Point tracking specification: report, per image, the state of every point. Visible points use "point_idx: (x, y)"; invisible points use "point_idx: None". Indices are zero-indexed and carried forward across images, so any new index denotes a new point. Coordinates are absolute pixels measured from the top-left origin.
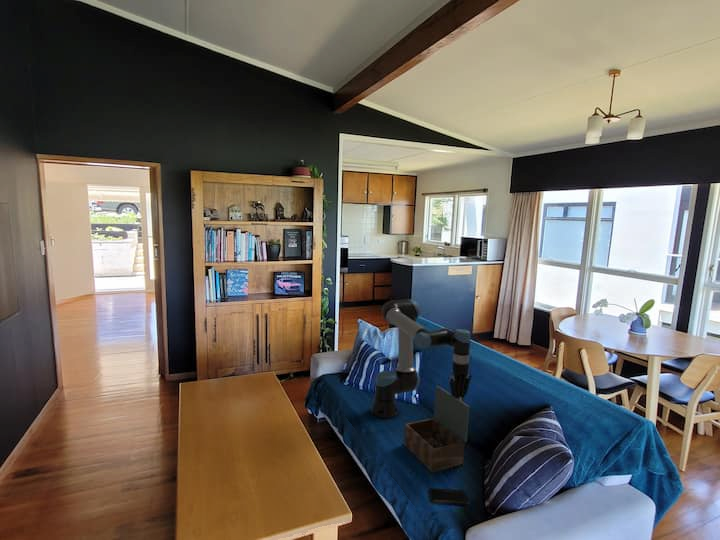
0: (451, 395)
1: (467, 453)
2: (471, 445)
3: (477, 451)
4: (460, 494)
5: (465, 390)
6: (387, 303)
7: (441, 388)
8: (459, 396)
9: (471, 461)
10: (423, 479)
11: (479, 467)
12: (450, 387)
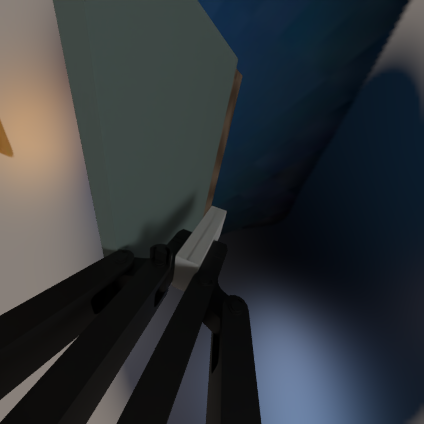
0: (107, 255)
1: (253, 195)
2: (297, 184)
3: (281, 206)
4: None
5: (209, 370)
6: None
7: (83, 67)
8: (165, 292)
9: (233, 214)
10: None
11: (229, 231)
12: (13, 308)
